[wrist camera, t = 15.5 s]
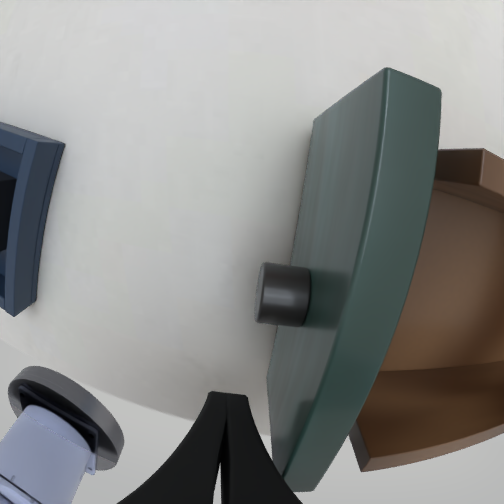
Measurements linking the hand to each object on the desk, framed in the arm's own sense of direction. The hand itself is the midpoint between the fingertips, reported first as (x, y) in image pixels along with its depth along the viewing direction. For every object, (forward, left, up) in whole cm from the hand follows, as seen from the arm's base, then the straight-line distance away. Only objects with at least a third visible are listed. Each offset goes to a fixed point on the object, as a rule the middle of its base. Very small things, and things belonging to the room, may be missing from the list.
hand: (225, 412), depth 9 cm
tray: (+2, +16, -3) cm, 17 cm away
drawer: (+7, -9, -2) cm, 12 cm away
